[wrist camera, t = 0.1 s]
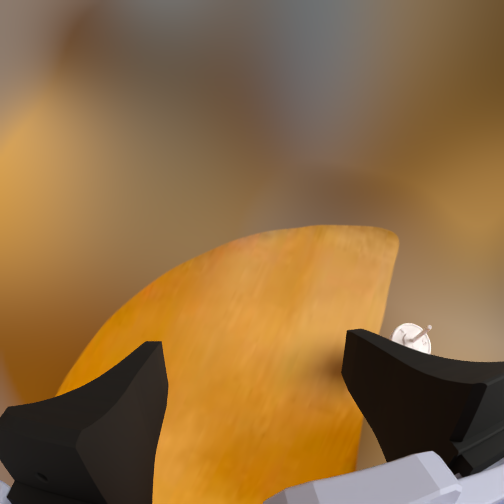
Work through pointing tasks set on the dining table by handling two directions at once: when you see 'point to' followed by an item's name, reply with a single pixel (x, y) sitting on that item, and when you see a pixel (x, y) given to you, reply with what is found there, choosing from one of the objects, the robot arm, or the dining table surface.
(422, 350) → the smoothie
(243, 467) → the dining table surface
